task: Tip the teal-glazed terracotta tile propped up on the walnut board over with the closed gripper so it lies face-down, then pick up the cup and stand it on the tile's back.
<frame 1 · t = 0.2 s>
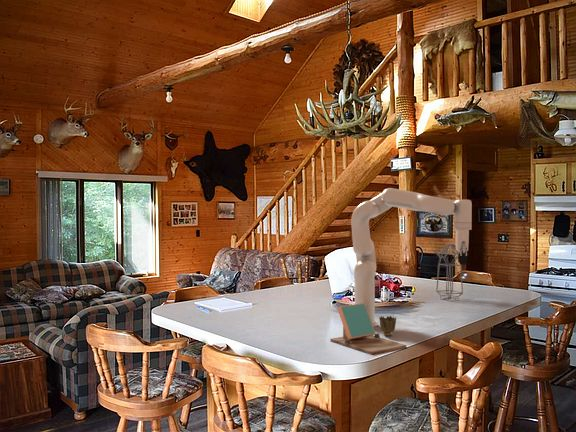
hand: (462, 263, 239), 31 cm above the table, tool pointing down, fingers open, 9 cm apart
geometric lantern: (450, 299, 325), on the table
walnut board: (367, 344, 215), on the table
cup: (387, 336, 230), on the table
tile: (356, 321, 220), point 8 cm above the table, hinge at 60.0°
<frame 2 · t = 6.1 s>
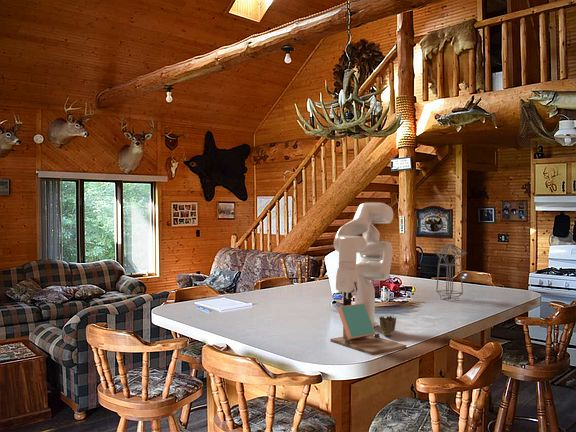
hand: (347, 307, 225), 13 cm above the table, tool pointing down, fingers closed
tile: (356, 321, 220), point 8 cm above the table, hinge at 60.1°, touching gripper
everything else where it was.
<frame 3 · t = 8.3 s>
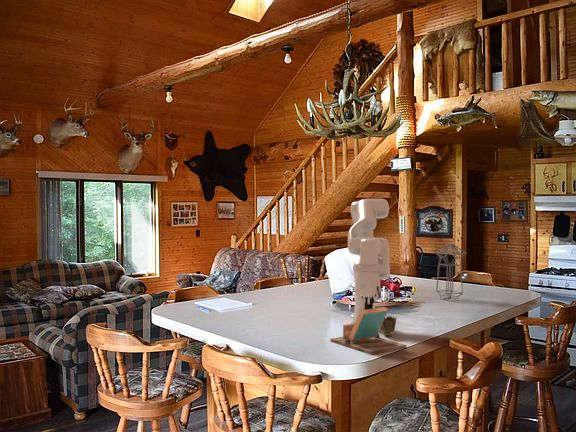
hand: (368, 313, 214), 13 cm above the table, tool pointing down, fingers closed
tile: (368, 323, 215), point 9 cm above the table, hinge at 118.3°
everything else where it was.
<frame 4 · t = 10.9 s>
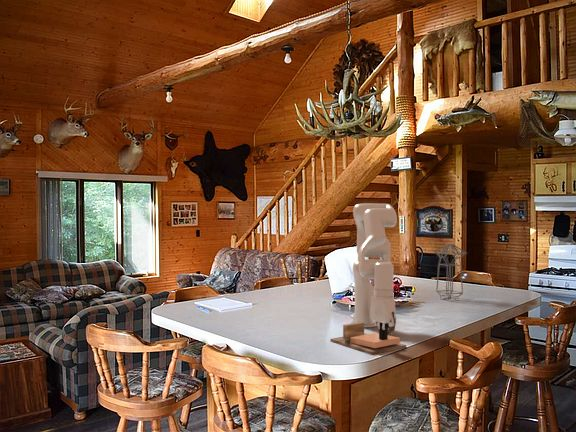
hand: (383, 339, 208), 4 cm above the table, tool pointing down, fingers closed
tile: (375, 340, 212), point 3 cm above the table, hinge at 176.5°, touching gripper
everything else where it was.
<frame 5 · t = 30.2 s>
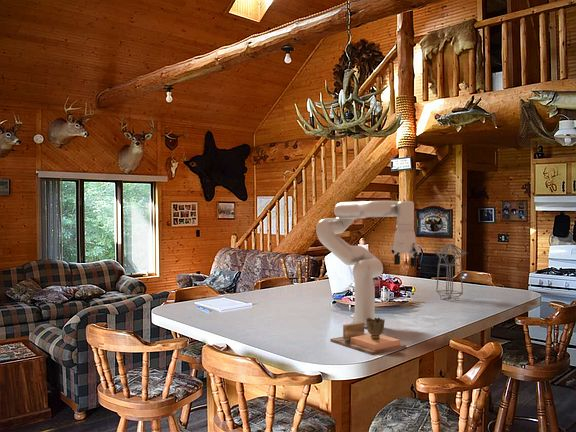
hand: (405, 265, 238), 30 cm above the table, tool pointing down, fingers open, 9 cm apart
cup: (375, 339, 212), point 3 cm above the table, touching tile
tile: (375, 341, 212), point 2 cm above the table, hinge at 180.0°, touching cup, walnut board
everything else where it was.
at the end: tile at +180° (first picture: +60°); cup inside the target area on the tile (0.2 cm from its centre), point 0.9 cm above the tile's base; cup tilted 0° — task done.
